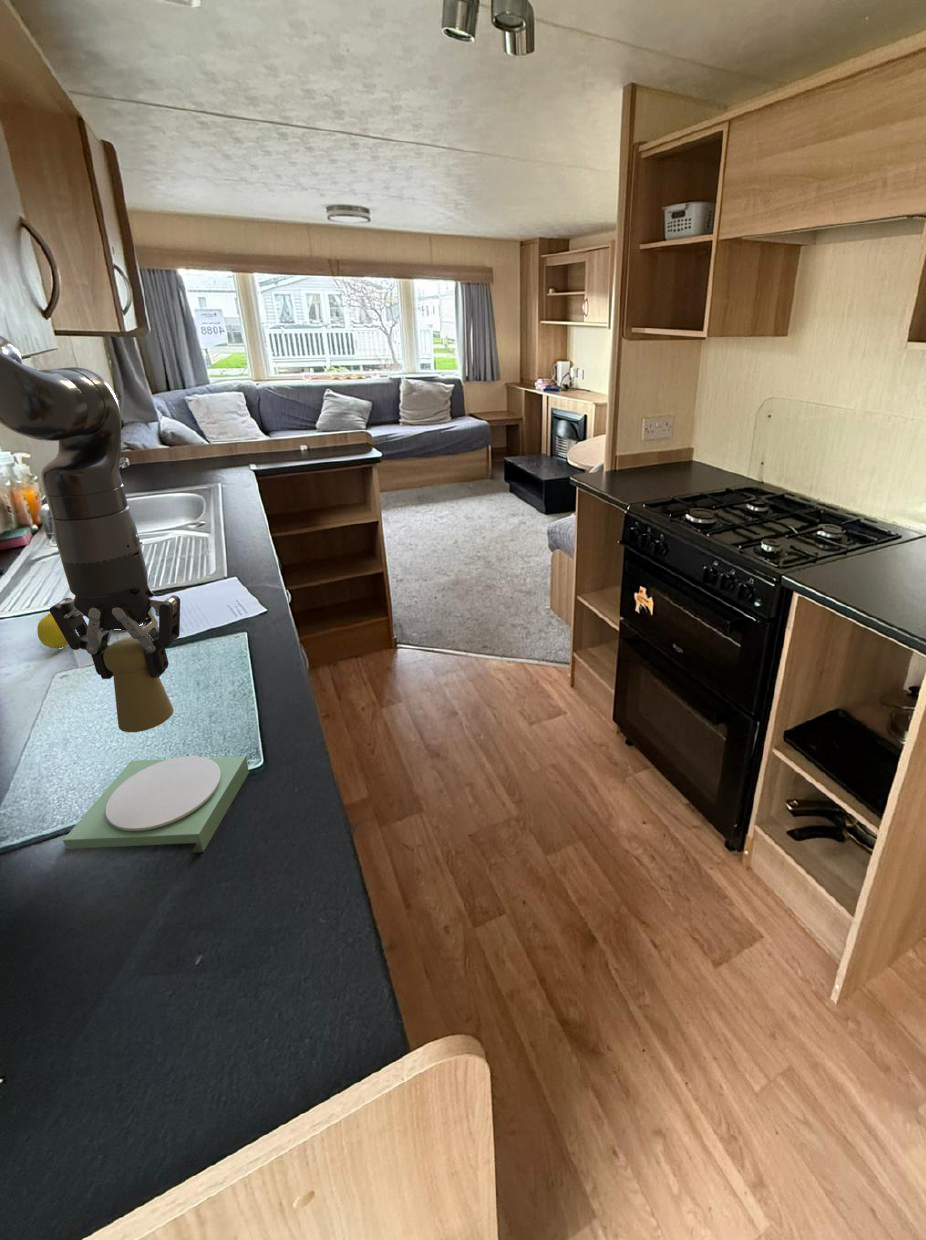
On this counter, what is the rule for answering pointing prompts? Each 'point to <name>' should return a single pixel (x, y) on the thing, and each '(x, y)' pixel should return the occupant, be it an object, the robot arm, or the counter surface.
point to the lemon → (50, 633)
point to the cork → (136, 687)
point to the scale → (162, 803)
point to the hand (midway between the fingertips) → (135, 674)
